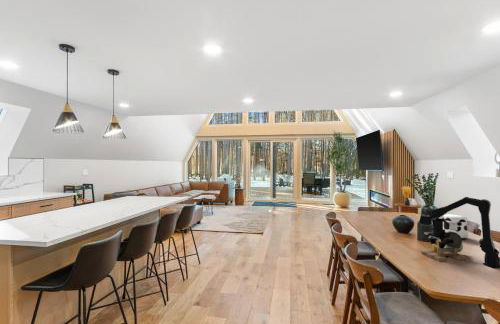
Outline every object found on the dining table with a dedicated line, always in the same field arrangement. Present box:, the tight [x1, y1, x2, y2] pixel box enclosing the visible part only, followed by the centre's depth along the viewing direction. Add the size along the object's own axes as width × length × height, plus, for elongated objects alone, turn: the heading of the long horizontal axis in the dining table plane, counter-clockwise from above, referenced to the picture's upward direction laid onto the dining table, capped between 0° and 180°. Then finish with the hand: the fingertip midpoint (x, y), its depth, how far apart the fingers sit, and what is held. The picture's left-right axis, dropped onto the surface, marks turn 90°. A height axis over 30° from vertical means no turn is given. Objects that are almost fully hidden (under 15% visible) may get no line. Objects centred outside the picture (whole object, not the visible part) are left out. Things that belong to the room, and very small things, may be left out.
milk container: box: [443, 213, 469, 240], centre depth 220 cm, size 17×17×18 cm
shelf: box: [420, 247, 467, 262], centre depth 173 cm, size 14×20×7 cm
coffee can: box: [443, 232, 464, 253], centre depth 178 cm, size 10×10×14 cm
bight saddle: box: [431, 243, 444, 253], centre depth 177 cm, size 5×4×5 cm
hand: (438, 250), depth 177 cm, fingers closed on bight saddle, 5 cm apart
